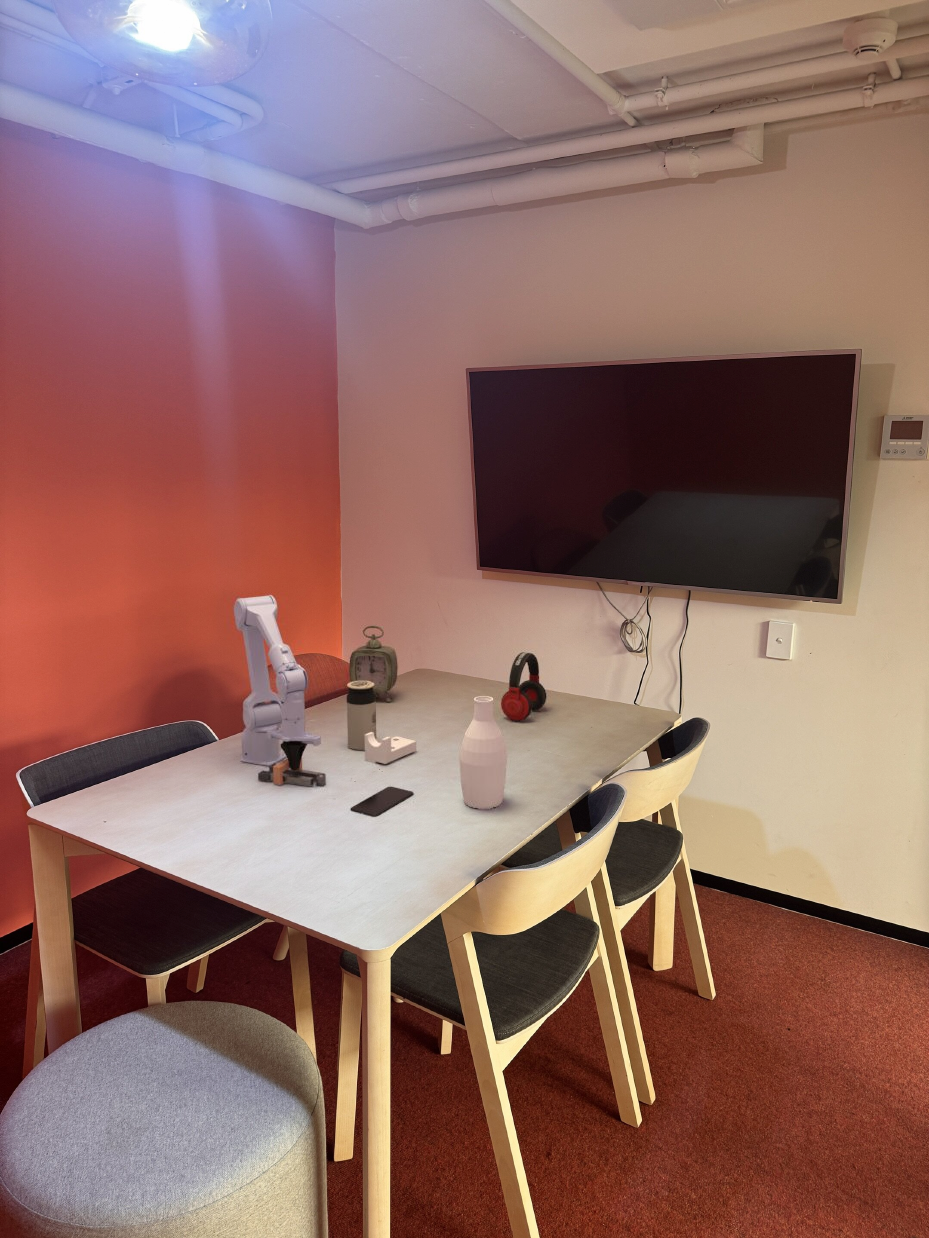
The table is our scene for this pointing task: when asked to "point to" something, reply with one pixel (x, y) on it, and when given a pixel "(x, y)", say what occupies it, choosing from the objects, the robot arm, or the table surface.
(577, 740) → the table surface
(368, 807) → the smartphone
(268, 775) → the tong arm
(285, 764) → the orange bridge block
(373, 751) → the bracket
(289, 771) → the base
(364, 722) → the travel mug
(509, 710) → the headphones
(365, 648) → the tabletop clock
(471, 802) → the bottle
